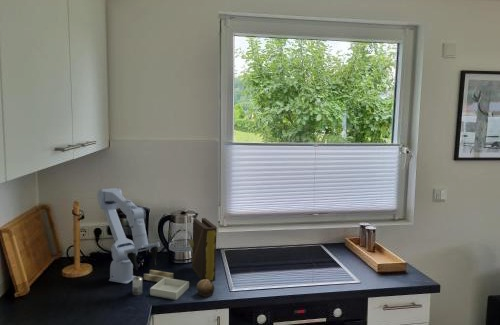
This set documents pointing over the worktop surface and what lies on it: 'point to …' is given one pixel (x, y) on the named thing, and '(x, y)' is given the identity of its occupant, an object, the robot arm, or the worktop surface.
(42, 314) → the worktop surface
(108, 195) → the robot arm
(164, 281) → the dish
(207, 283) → the mushroom
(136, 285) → the cylinder
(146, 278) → the trough
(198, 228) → the book
